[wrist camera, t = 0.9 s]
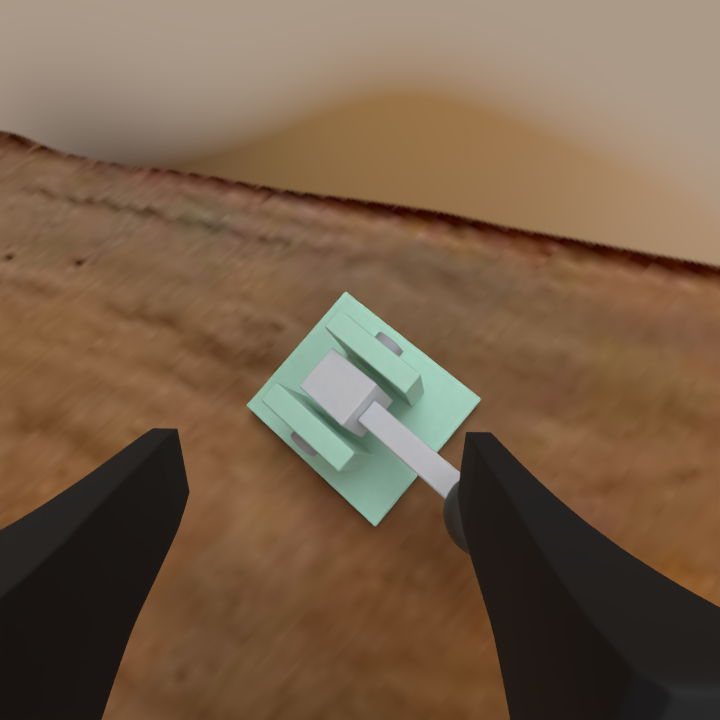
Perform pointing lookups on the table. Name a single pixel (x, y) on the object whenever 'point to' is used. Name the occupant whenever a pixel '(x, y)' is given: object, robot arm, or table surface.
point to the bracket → (410, 406)
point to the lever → (383, 429)
